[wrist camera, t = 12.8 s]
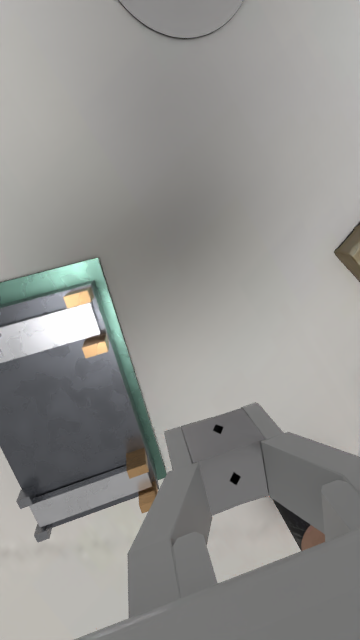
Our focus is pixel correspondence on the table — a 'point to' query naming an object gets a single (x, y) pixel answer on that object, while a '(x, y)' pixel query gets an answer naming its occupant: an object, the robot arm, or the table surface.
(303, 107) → the table surface
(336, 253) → the computer
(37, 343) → the strap front
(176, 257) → the table surface
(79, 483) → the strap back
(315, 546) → the robot arm
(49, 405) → the dark piece
